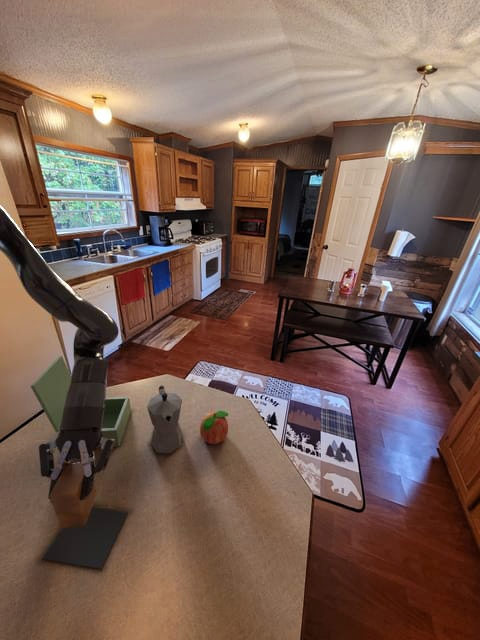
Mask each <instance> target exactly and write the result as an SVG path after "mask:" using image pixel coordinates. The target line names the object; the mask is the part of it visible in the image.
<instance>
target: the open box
mask: <svg viewBox="0 0 480 640" xmlns="http://www.w3.org/2000/svg"><path fill="white" fill-rule="evenodd" d="M131 408H132V407H131V401H130V396H116V397H115V396H114V397H113V396H112V397H106V404H105V407H104V415H103V422H102V429H101V433H102V435H103V437H104V438H108V439H115V440H116V442H115V445H114V447H119V446H121V445H120V444H121V441H122V439H123V437H124V433H125V430H126V427H127V424H128V422H129V419H130V415H131V412H132V409H131ZM59 434H60V431H59V432H57V435H58V436H59ZM96 448H101V443H100V444H99V445H98V446H97V447H96Z"/></svg>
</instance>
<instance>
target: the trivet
mask: <svg viewBox="0 0 480 640" xmlns="http://www.w3.org/2000/svg"><path fill="white" fill-rule="evenodd" d="M128 514H129V512H127V511H121V510H115V509H109V508H102V507H96V506H92V509H91V511H90V514H89V517H88V520H87V522H86V525H85V526H81V527H73V528H64V529H61V528H60V530H59V532H58V533H57V535H56V537H55V538H54V540H53V541H52V543H51V544H50V546H49V547H48V549H47V551H46V552H45V553H44V555H43V557H42V558H41V559H42V561H47V562H48V561H49V562H54V563H61V564H65V565H72V566H77V567H82V568H88V569H93V570H94V569H95V570H100V571H102V570H103V568H104V566H105V564H106V561H107V560H108V557H109V555H110V553H111V551H112V549H113V547H114V544H115V542H116V540H117V538H118V536H119V534H120V531H121V529H122V528H123V525H124V523H125V520H126V519H127V517H128Z"/></svg>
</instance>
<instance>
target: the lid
mask: <svg viewBox="0 0 480 640" xmlns="http://www.w3.org/2000/svg"><path fill="white" fill-rule="evenodd" d="M71 376H72V374H71V372H70V371H69V369H68V366H67V364H66V362H65V360H64V358H63V356H62V355H58V357H56V358H55V360H53V362H52V363H51V364H50V365H49V366H48V367H47V369H45V370H44V371H43V372H42V373H41V374H40V375H39V377H37V379H35V381H34V382H33V383H32V384H31V385H30V388H31V391H32V392H33V394H34V395H35V397H36V400H37V401H38V403H39V405H40V407H41V408H42V410H43V411H44V413H45V415H46V417H47V419H48V421H49V422H50V424H51V426H52V428H53V430H54V432H55V433H59V431H60V426H61V420H62V415H63V410H64V405H65V399H66V395H67V391H68V389H69V385H70V381H71Z"/></svg>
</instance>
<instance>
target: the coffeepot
mask: <svg viewBox="0 0 480 640" xmlns="http://www.w3.org/2000/svg"><path fill="white" fill-rule="evenodd" d="M158 393H159V394H156V395H154V396H152V397H150V400H149V402H148V404H147V406H146V408H147V412H148V414H149V415H148V416H149V418H150V422H151V425H152V426H153V430H152V435H151V442H150V446H151V447H152V448H153V449H154V451H155V452H156V453H157V454H171V453H172V452H174V451H175V450H177V449H179V448H180V447H181V444H182V440H183V433H182V429H181V425H180V423H179V421H180V417H181V410H182V403H183V399H182V398H181V397H180V396H179V395H178V394H177V393H175V392H166V388H165V385H160V386H159V387H158Z"/></svg>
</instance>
